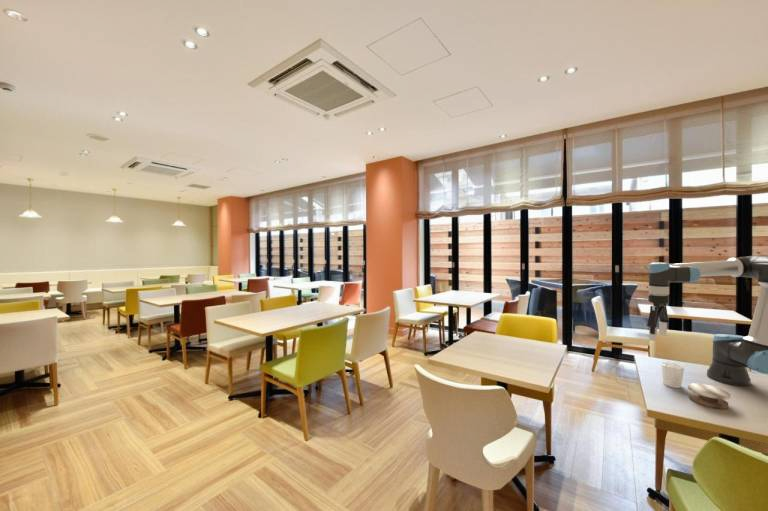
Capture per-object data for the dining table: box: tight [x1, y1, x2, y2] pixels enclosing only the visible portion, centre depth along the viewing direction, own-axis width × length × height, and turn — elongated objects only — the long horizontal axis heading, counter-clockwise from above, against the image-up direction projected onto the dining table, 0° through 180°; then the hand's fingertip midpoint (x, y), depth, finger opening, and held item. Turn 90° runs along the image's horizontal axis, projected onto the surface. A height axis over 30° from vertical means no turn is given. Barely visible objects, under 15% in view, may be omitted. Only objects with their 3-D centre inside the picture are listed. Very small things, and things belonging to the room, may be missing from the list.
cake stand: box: [687, 382, 731, 410], centre depth 139 cm, size 13×13×6 cm
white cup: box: [661, 361, 685, 389], centre depth 155 cm, size 8×8×10 cm
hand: (657, 337), depth 153 cm, fingers open, 13 cm apart
